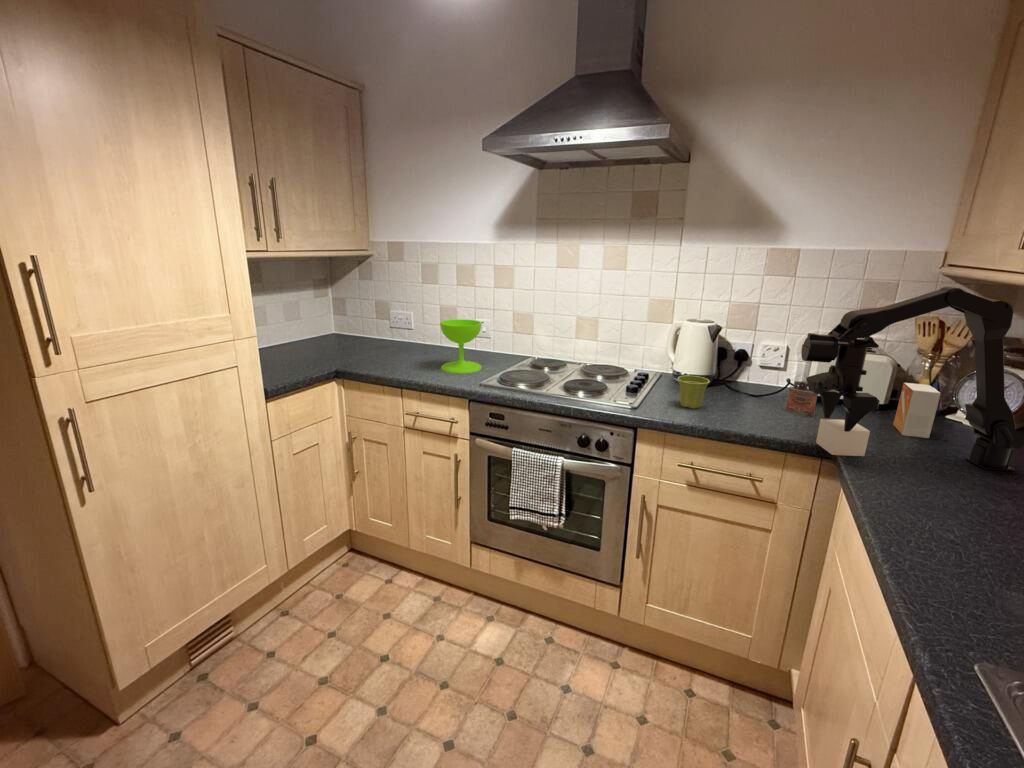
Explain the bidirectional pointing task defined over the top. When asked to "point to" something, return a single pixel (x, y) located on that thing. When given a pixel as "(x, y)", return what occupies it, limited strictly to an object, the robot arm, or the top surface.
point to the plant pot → (692, 390)
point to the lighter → (801, 399)
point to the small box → (916, 410)
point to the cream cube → (842, 438)
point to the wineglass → (461, 343)
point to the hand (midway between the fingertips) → (836, 424)
